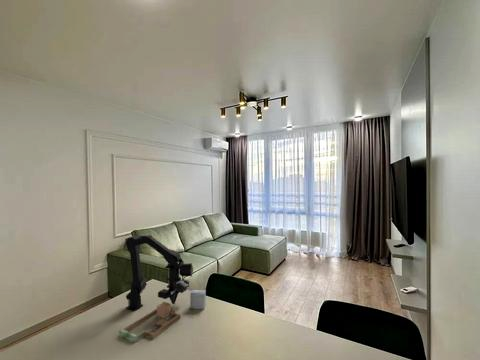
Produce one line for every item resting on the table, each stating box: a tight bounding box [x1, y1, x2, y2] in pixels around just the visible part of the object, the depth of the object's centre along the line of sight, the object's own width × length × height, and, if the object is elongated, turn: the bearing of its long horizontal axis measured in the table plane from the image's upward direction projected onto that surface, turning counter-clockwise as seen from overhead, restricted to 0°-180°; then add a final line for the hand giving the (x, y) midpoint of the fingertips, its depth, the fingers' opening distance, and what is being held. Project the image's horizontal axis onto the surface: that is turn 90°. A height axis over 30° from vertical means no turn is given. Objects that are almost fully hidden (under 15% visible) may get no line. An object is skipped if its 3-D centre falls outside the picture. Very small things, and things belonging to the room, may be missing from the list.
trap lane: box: [118, 308, 182, 344], centre depth 111 cm, size 16×25×2 cm, turn 154°
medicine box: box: [189, 289, 207, 310], centre depth 128 cm, size 8×4×9 cm, turn 84°
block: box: [156, 301, 172, 319], centre depth 120 cm, size 5×5×5 cm
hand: (173, 304), depth 127 cm, fingers closed
